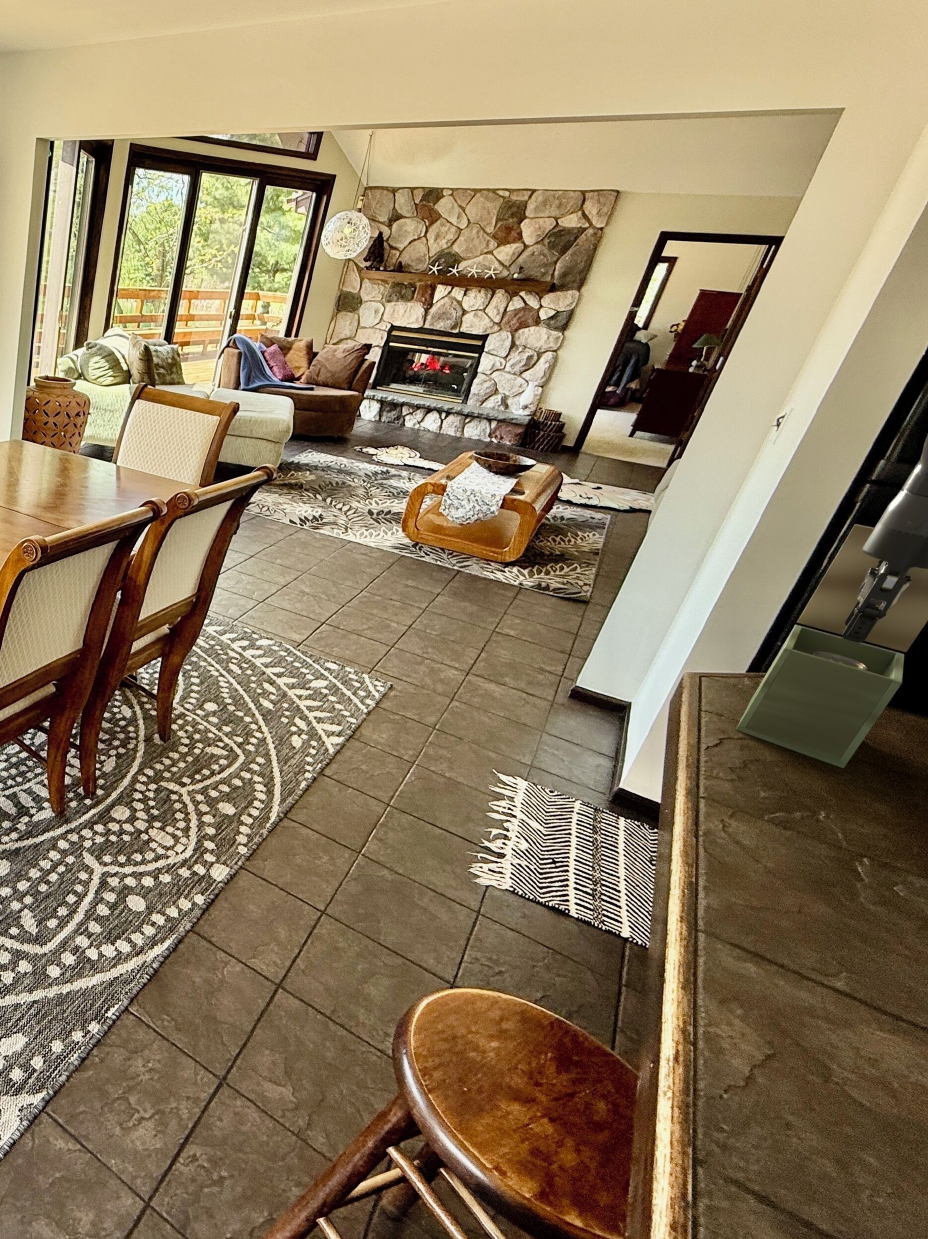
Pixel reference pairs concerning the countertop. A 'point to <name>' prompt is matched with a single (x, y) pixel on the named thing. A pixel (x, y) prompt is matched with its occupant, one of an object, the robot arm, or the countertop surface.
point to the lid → (841, 590)
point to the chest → (822, 695)
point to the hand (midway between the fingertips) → (852, 633)
